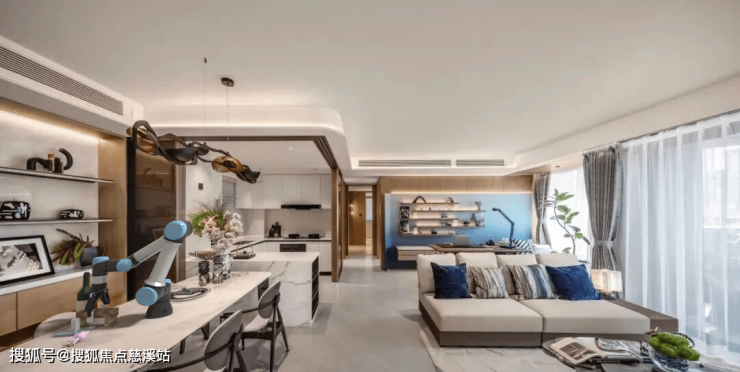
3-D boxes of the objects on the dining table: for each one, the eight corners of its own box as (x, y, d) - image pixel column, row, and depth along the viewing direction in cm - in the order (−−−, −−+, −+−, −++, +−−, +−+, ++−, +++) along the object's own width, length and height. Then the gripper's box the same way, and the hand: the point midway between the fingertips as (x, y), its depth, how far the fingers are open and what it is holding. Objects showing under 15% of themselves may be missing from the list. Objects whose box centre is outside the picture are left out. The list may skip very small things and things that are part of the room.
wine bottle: (82, 321, 195) (85, 273, 198) (71, 321, 197) (74, 273, 200) (96, 317, 204) (98, 270, 206) (86, 316, 205) (88, 270, 208)
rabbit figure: (75, 349, 157) (94, 333, 172) (74, 338, 157) (94, 323, 172) (60, 350, 156) (81, 334, 171) (59, 339, 156) (80, 324, 170)
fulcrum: (95, 328, 184) (96, 314, 184) (81, 335, 173) (82, 320, 173) (68, 330, 181) (69, 316, 182) (52, 337, 170) (53, 322, 171)
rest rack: (117, 322, 193) (117, 314, 193) (110, 326, 186) (110, 317, 186) (84, 324, 189) (84, 316, 190) (75, 329, 183) (76, 320, 183)
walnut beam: (118, 314, 192) (119, 307, 193) (113, 317, 187) (113, 309, 188) (81, 317, 189) (82, 309, 189) (75, 319, 184) (75, 312, 184)
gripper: (105, 278, 201) (103, 313, 199) (77, 287, 177) (74, 326, 175) (118, 278, 203) (117, 312, 201) (92, 286, 179) (90, 325, 177)
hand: (97, 318), depth 188 cm, fingers open, 12 cm apart
